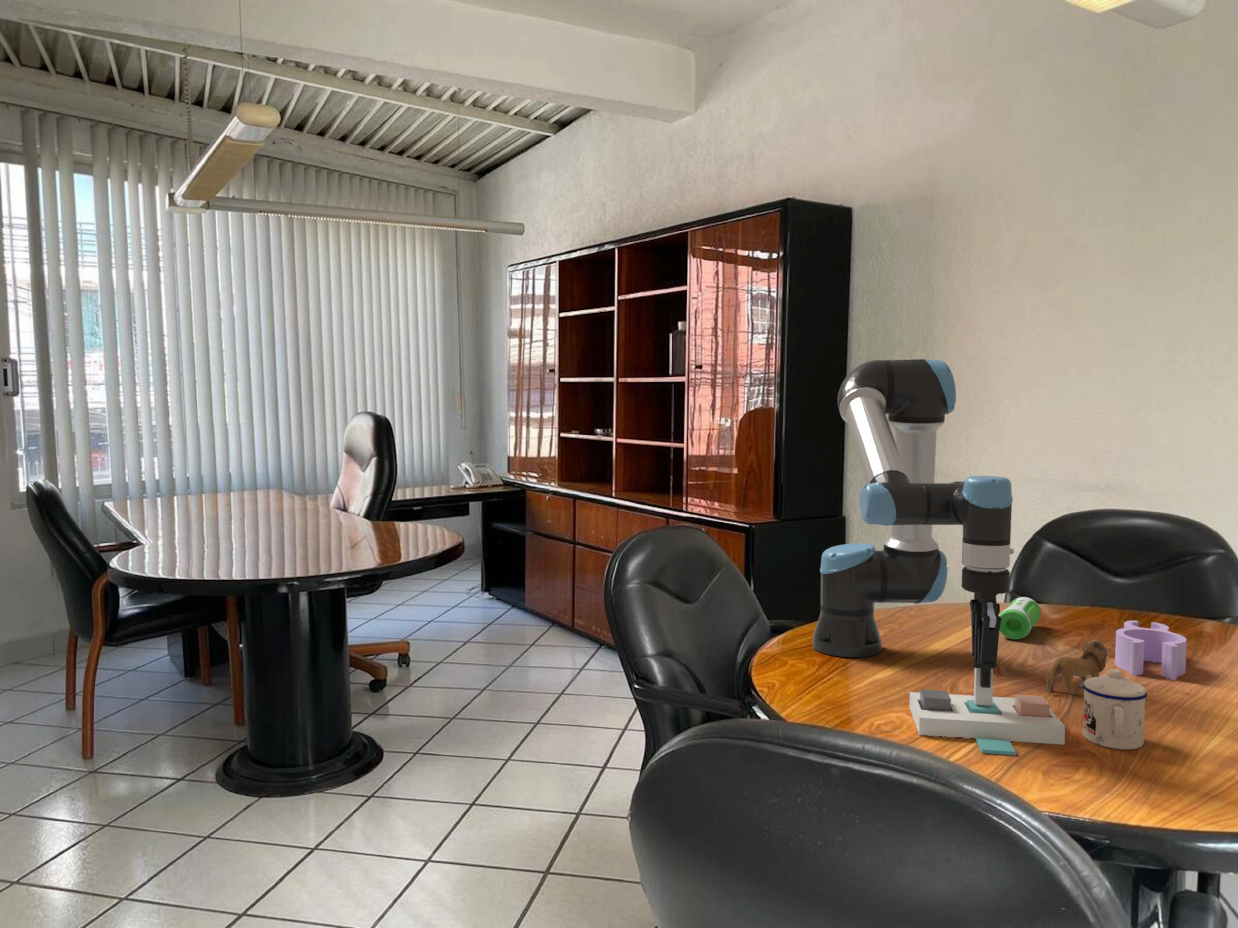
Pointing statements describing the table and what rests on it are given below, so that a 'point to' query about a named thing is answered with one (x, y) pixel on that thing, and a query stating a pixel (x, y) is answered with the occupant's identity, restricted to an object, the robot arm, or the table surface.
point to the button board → (986, 722)
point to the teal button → (982, 708)
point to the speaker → (1019, 618)
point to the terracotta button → (1032, 706)
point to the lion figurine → (1079, 666)
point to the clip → (1150, 649)
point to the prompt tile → (995, 746)
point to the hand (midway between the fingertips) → (983, 703)
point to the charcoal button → (935, 700)
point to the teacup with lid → (1114, 711)
